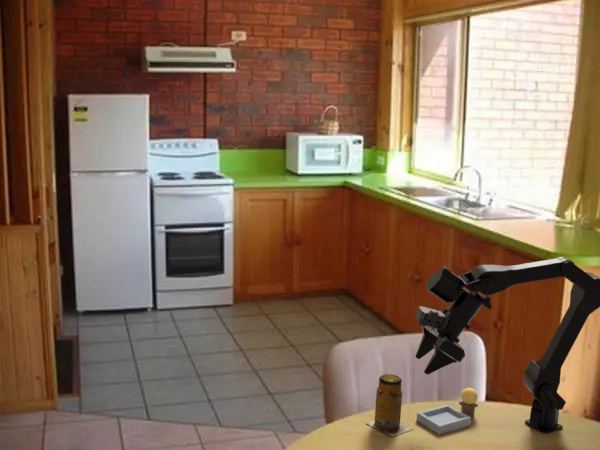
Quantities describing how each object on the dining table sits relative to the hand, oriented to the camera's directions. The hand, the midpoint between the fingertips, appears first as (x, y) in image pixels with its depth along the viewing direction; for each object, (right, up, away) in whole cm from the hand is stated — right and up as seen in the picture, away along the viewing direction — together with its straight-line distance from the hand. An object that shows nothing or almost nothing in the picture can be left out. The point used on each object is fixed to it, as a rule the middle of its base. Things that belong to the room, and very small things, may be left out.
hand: (421, 365), depth 175 cm
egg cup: (+13, -14, +9) cm, 21 cm away
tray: (+6, -15, +4) cm, 16 cm away
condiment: (-7, -15, +1) cm, 17 cm away
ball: (+13, -9, +8) cm, 18 cm away
